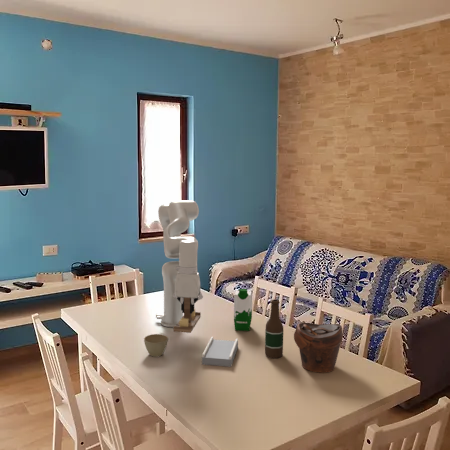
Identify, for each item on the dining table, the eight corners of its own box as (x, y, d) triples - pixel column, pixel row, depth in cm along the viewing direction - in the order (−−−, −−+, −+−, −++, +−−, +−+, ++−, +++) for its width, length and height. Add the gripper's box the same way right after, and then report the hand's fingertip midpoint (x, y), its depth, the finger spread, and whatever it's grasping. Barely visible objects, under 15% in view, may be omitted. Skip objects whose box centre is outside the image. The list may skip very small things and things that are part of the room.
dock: (201, 364, 195) (201, 354, 195) (211, 345, 215) (211, 336, 214) (231, 366, 194) (231, 356, 193) (237, 347, 213) (238, 338, 213)
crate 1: (179, 327, 196) (179, 320, 196) (181, 325, 199) (181, 318, 199) (186, 328, 196) (186, 321, 195) (188, 325, 199) (188, 318, 198)
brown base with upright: (190, 332, 194) (190, 299, 192) (173, 331, 195) (173, 298, 193) (200, 317, 213) (200, 286, 211) (185, 316, 214) (185, 285, 212)
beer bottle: (284, 352, 208) (286, 298, 205) (280, 359, 201) (282, 303, 198) (267, 350, 211) (268, 296, 207) (262, 357, 203) (263, 301, 200)
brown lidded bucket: (284, 361, 199) (286, 319, 197) (324, 354, 207) (327, 314, 205) (307, 380, 183) (310, 334, 181) (350, 372, 191) (353, 328, 188)
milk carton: (232, 331, 234) (233, 290, 231) (234, 324, 243) (235, 285, 240) (251, 331, 233) (252, 291, 230) (252, 325, 242) (252, 286, 239)
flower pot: (139, 357, 202) (139, 340, 201) (151, 348, 211) (151, 332, 210) (161, 360, 198) (161, 344, 197) (172, 351, 208) (172, 335, 207)
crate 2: (187, 317, 209) (187, 310, 209) (188, 314, 212) (188, 308, 211) (193, 317, 209) (193, 310, 208) (195, 315, 211) (195, 308, 211)
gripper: (166, 270, 198) (166, 314, 201) (205, 273, 196) (204, 316, 198) (171, 266, 205) (171, 308, 208) (209, 268, 203) (208, 311, 206)
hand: (187, 312), depth 203 cm, fingers closed on brown base with upright, 2 cm apart
